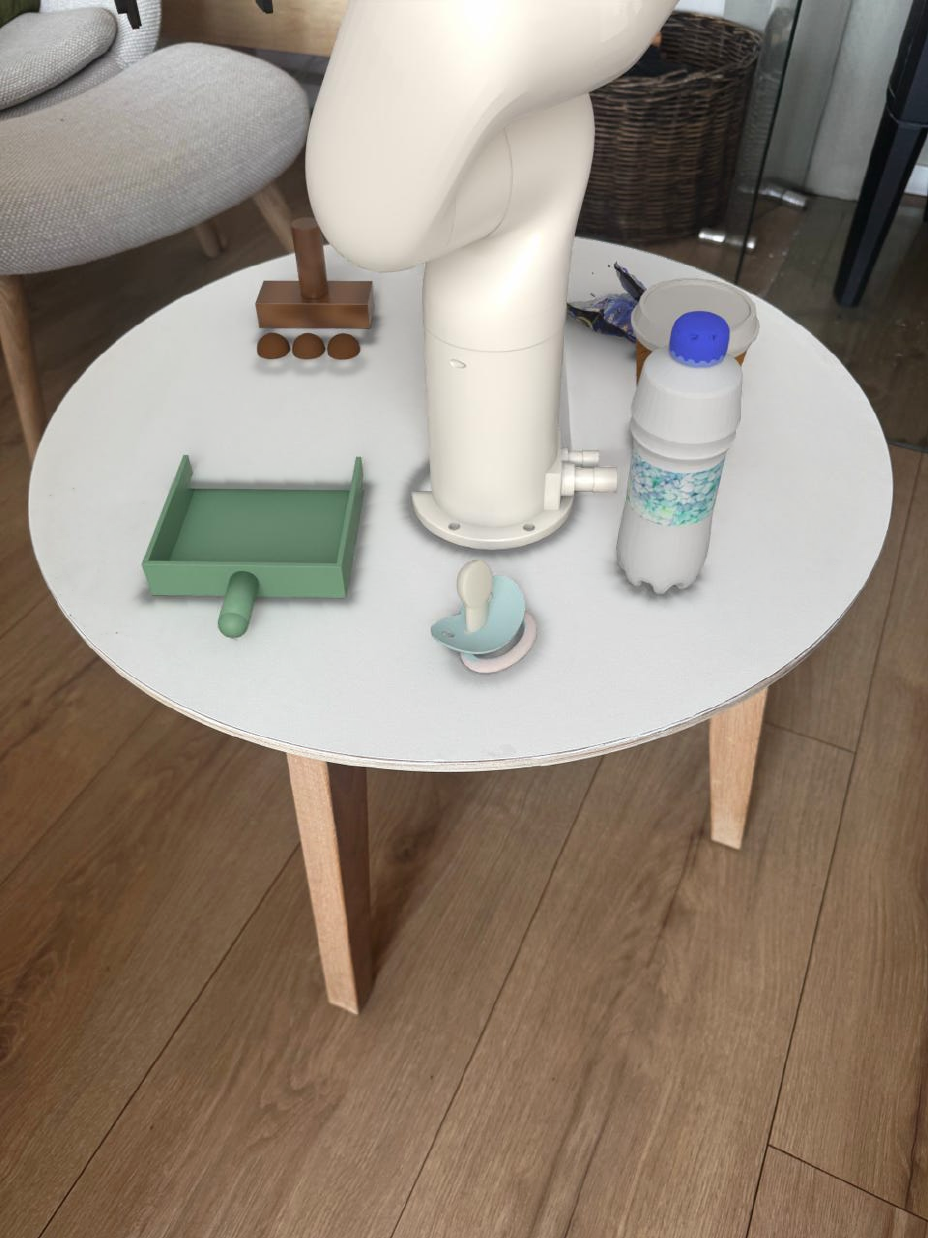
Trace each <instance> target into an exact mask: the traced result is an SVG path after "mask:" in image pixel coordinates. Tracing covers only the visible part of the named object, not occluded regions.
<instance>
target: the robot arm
mask: <svg viewBox="0 0 928 1238" xmlns="http://www.w3.org/2000/svg"><path fill="white" fill-rule="evenodd" d="M113 1H114V7H115V10H116V13H117V15H124V14H126V17H127V21H128V23H129V25H130V27H131V29H132V30H140V29H141V27H143V23H142V20H141V19H142V18H141V15H140V10H139V9H140V8H139V5H138V1H137V0H113ZM254 1H255V4H256V5H257V6H258V8H259V9H260V10H261V11H262V13H265V15H271V14H274V4H273V0H254ZM679 2H680V0H348V1H347V4H346V8H345V11H344V14H343V17H342V21H341V23H340V26H339V30H338V33H337V36H336V38H335V42H334V44H333V47H332V52H331V54H330V56H329V60H328V63H327V67H326V68H325V69H326V70H325V73H324V76H323V80H322V82H321V85H320V87H319V91H318V94H317V97H316V100H315V105H314V107H313V111H312V114H311V117H310V122H309V125H308V133H307V139H306V145H305V157H304V158H305V159H304V161H305V163H304V164H305V165H304V168H305V169H304V171H305V182H306V190H307V195H308V200H309V203H310V207H311V210H312V214H313V216H314V218H315V219H316V221H317V223H318V225H319V227H320V229H321V233H322V236H323V237H324V238H325V239H326V241H327V242H328V244H329V245H330V246H331V247H332V248H333V249H334V250H335V252H336V253H338V254H339V255H340V256H341V257H342V258H344V259H345V260H346V261H348V262H349V263H351V264H353V265H355V266H357V267H358V268H361V269H363V270H368V271H371V272H374V273H375V272H376V273H398V272H404V271H407V270H410V269H413V268H417V267H419V266H421V265H425V266H424V270H423V276H422V289H421V306H422V330H423V351H424V369H425V388H426V389H425V390H426V391H425V392H426V410H427V413H426V414H427V429H428V430H427V431H428V434H427V435H428V451H429V469H430V470H429V473H430V474H429V475H430V487H431V490H410V496H411V505H412V509H413V511H414V514H415V515H416V517H417V519H418V520H419V521H420V522H421V524H422V525H423V526H424V527H425V528H426V529H428V531H430V532H431V533H432V534H433V535H436V536H437V537H439V538H441V539H442V540H445V541H446V542H449V543H452V544H455V545H457V546H461V547H466V548H471V549H475V550H486V551H487V550H488V551H495V550H496V551H497V550H511V549H517V548H521V547H525V546H528V545H531V544H533V543H537V542H538V541H540V540H543V539H545V538H547V537H549V536H551V535H552V534H554V532H556V531H557V530H558V529H560V528H561V527H562V526H563V525H564V524H565V522H566V521H567V520H568V519H569V516H570V514H571V512H572V510H573V509H574V508H573V507H574V500H575V492H592V493H603V494H605V493H608V494H609V493H610V494H616V493H617V492H618V481H619V471H618V467H617V466H600V450H599V449H598V450H596V449H595V450H594V449H593V450H591V449H590V450H587V449H582V450H569V447H565V446H564V447H562V443H561V441H562V440H561V430H560V429H559V424H560V423H559V422H560V409H561V408H560V407H561V406H560V405H561V391H562V390H561V389H562V377H563V376H562V375H563V360H564V345H565V329H566V319H567V313H566V309H567V302H568V293H569V280H570V271H571V261H572V253H573V246H574V241H575V234H576V231H577V226H578V223H579V222H578V221H579V217H580V213H581V209H582V205H583V203H584V199H585V195H586V190H587V187H588V184H589V183H588V182H589V178H590V175H591V169H592V163H593V159H594V152H595V140H596V139H595V138H596V125H595V116H594V115H595V114H594V108H593V103H592V100H591V97H590V93H591V92H593V91H596V90H597V89H599V88H602V87H604V86H606V85H607V84H609V83H611V82H613V81H614V80H617V79H618V78H620V77H621V76H622V75H623V74H625V73H627V72H628V71H629V70H630V69H631V68H632V67H633V66H635V64H637V63H638V61H639V60H640V59H641V58H642V57H643V56H644V54H645V53H646V52H647V50H648V49H649V48H650V46H651V44H652V43H653V42H654V40H655V39H656V37H657V36H658V34H659V33H660V31H661V29H662V28H663V27H664V25H665V24H666V22H667V20H668V19H669V18H670V16H671V14H672V13H673V11H674V9H675V8H676V7H677V5H678V4H679Z"/></svg>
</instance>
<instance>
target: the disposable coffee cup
mask: <svg viewBox="0 0 928 1238" xmlns="http://www.w3.org/2000/svg"><path fill="white" fill-rule="evenodd" d="M646 289H647V290H646V291H645V292H644V293H643V294H642V296H641V298H640V300H639V303H638V305H636V306H635V308H634V310H633V312H632V314H631V324H632V327H633V330H634V333H635V336H636V344H635V349H636V350H635V370H636V371H635V373H636V374H635V376H636V377H635V378H636V379H635V381H636V382H635V383H636V387H635V388H636V389H637V385H638V382H639V378H640V375H641V371H642V368H643V364H644V362H645V360H646V358H647V357H648V356H649V355H650V354H651V353H652V352H653V351H655V350H657V349H659V348H661V347H664V346H666V345H669V342H670V335H671V330H672V327H673V325H674V323H675V321H676V320H677V319H678V318H679V317H680V316H681V315H683V314H685V313H688V312H692V311H707V312H711V313H714V314H717V315H719V316H721V317H722V318H723V319H724V320H725V321H726V322H727V324H728V326H729V329H730V339H729V344H728V349H727V353H728V354H730V355H731V356H732V357H733V358H734V359H735V360H737V361H738V363H739V364H740V366H741V368H742V366H743V363H744V361H745V358H746V356H747V352H748V350H749V349H750V348H751V346H752V344H753V343H754V342H755V341H756V339H757V337H758V336H759V333H760V329H761V325H760V321H759V319H758V317H757V306H756V304H755V302H754V301H753V299H752V298H751V297H750V296H749V295H748V294H747V293H746V292H744V291H742V290H741V289H739V288H737V287H735V286H734V285H731V284H728V283H726V282H721V281H718V280H714V279H705V278H699V277H682V278H681V277H680V278H674V279H669V280H668V279H667V280H664V281H661V282H657V283H655V284H653V285H651V286H650V287H648V288H646Z"/></svg>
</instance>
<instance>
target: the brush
mask: <svg viewBox="0 0 928 1238" xmlns="http://www.w3.org/2000/svg"><path fill="white" fill-rule="evenodd" d="M290 229H291V230H290V231H291V237H292V243H293V244H292V245H293V250H294V257H295V264H296V271H297V277H298V279H297V280H263V281H262V284H261V286H260V289H259V292H258V295H257V297H256V300H255V303H254V304H255V310H256V311H255V312H256V316H257V322H258V327H259V328H260V329H263V328H264V329H275V328H276V329H371V324H372V320H373V314H374V309H375V294H374V281H373V280H328V275H327V266H326V257H325V250H324V241H323V233H322V231H321V229H320V227H319V225H318V223H317V221H316V219H315V217H310V216H304V217H298V218H296V219H294V220H293V221H292V222H291V223H290Z"/></svg>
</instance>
